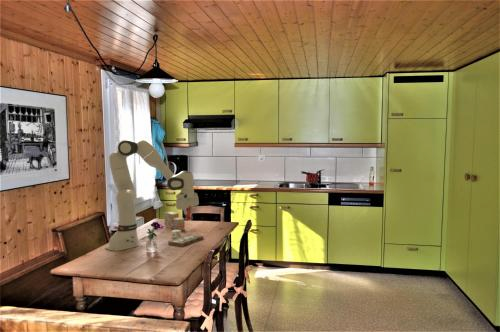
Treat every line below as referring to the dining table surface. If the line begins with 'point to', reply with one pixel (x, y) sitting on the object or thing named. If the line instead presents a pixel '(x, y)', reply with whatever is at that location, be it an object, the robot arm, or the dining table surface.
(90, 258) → the dining table surface
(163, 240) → the dining table surface
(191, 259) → the dining table surface
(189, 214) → the pawn
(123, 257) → the dining table surface
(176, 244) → the board
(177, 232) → the die
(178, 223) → the stack of blocks
